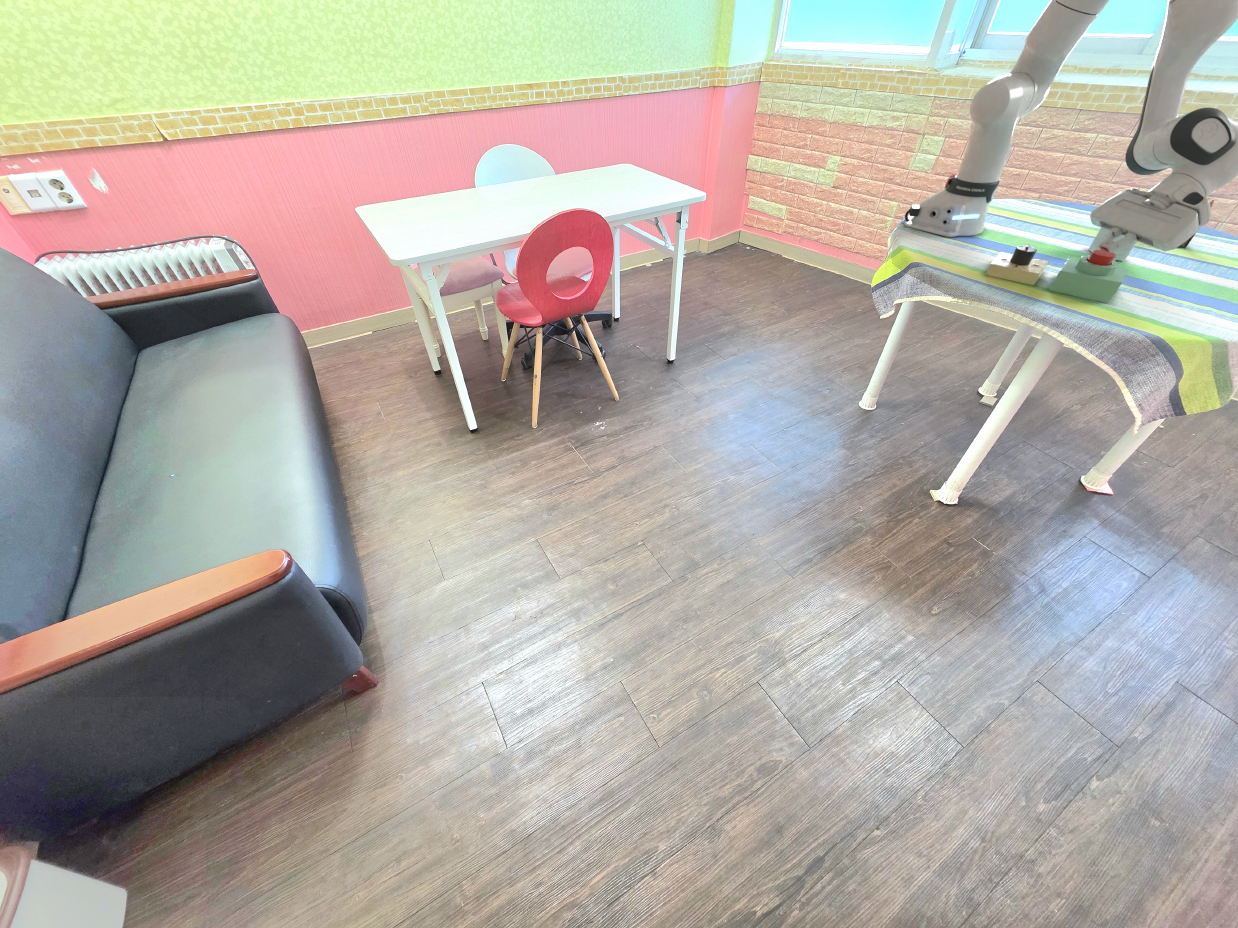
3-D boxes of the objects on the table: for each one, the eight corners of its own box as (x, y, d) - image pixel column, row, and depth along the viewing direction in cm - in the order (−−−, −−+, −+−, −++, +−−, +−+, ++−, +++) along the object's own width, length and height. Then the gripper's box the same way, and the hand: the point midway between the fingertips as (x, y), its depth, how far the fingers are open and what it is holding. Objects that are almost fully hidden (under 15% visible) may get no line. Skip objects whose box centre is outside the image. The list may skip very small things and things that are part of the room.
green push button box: (1048, 290, 123) (1064, 262, 119) (1057, 277, 129) (1073, 249, 124) (1108, 303, 117) (1127, 274, 113) (1114, 288, 122) (1133, 260, 118)
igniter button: (1085, 264, 118) (1091, 254, 117) (1088, 258, 121) (1094, 248, 119) (1107, 268, 116) (1114, 258, 115) (1111, 262, 118) (1117, 252, 117)
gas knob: (1028, 266, 127) (1036, 251, 124) (1008, 263, 129) (1016, 248, 126) (1030, 261, 129) (1038, 246, 127) (1011, 257, 131) (1018, 243, 129)
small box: (1124, 261, 133) (1151, 220, 126) (1101, 260, 134) (1126, 219, 127) (1109, 250, 139) (1135, 210, 132) (1087, 249, 140) (1110, 209, 133)
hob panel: (985, 275, 131) (991, 263, 129) (995, 263, 137) (1001, 251, 134) (1033, 285, 126) (1040, 273, 124) (1042, 272, 131) (1049, 260, 129)
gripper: (1125, 177, 116) (1064, 225, 122) (1216, 203, 101) (1142, 256, 107) (1129, 196, 120) (1070, 242, 125) (1218, 223, 105) (1145, 274, 111)
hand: (1104, 249), depth 116 cm, fingers closed
